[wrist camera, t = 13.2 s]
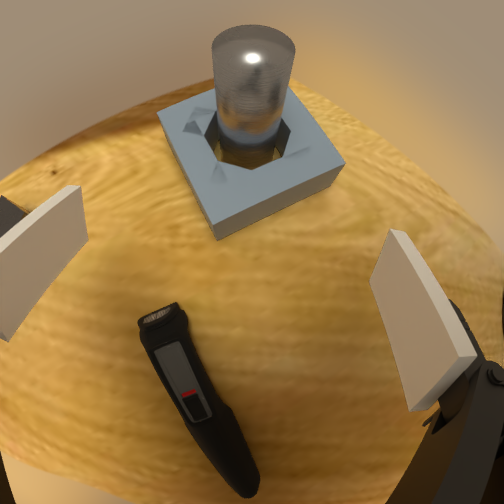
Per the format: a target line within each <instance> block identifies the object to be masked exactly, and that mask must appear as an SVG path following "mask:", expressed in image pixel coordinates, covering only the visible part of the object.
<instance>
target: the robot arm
mask: <svg viewBox="0 0 504 504" xmlns="http://www.w3.org/2000/svg"><path fill="white" fill-rule="evenodd" d="M87 241H88V235H87V228H86V222H85V215H84V208H83V200H82V191H81V186H74V185H67V186H66V187H64V188H63V189H62V190H60V191H59V192H57V193H56V194H55V195H53V196H52V197H51V198H49V199H48V200H47V201H45V202H44V203H43V204H41V205H40V206H39V207H37V208H36V209H35V210H33V211H32V212H31V213H30V214H28V215H27V216H26V217H25V218H23V219H22V220H21V221H20V222H19V223H17V224H16V225H15V226H14V227H13V228H11V229H10V230H9V231H8V232H7V233H6V234H4V235H3V236H2V237H1V238H0V338H1V339H3V340H5V341H7V342H9V341H10V339H11V338H12V336H13V335H14V333H15V332H16V330H17V329H18V327H19V326H20V325H21V323H22V322H23V320H24V319H25V318H26V316H27V315H28V313H29V312H30V311H31V309H32V308H33V307H34V305H35V304H36V303H37V301H38V300H39V299H40V297H41V296H42V295H43V294H44V292H45V291H46V290H47V288H48V287H49V286H50V285H51V283H52V282H53V281H54V280H55V279H56V277H57V276H58V275H59V274H60V272H61V271H62V270H63V269H64V268H65V266H66V265H67V264H68V263H69V262H70V261H71V259H72V258H73V257H74V256H75V255H76V254H77V253H78V251H79V250H80V249H81V248H82V247H83V246H84V245H85V244H86V242H87ZM369 283H370V286H371V289H372V292H373V294H374V297H375V300H376V303H377V306H378V308H379V311H380V314H381V317H382V320H383V323H384V326H385V329H386V332H387V335H388V339H389V342H390V345H391V348H392V351H393V355H394V358H395V361H396V365H397V368H398V372H399V375H400V379H401V383H402V386H403V390H404V394H405V398H406V402H407V406H408V410H409V412H411V411H421V410H428V409H429V408H430V407H431V406H432V405H433V404H434V403H435V402H436V401H437V400H438V401H439V404H440V408H439V409H438V410H437V411H436V412H435V413H434V414H433V415H432V416H430V417H429V418H428V419H427V420H426V421H425V422H424V423H423V425H422V426H424V427H425V426H426V425H427V424H428V423H429V422H431V423H430V425H429V427H428V430H427V432H426V434H425V436H424V438H423V440H422V442H421V444H420V446H419V448H418V450H417V452H416V454H415V455H414V457H413V459H412V461H411V463H410V464H409V466H408V468H407V470H406V471H405V473H404V475H403V477H402V478H401V480H400V482H399V483H398V485H397V486H396V488H395V490H394V491H393V493H392V494H391V496H390V497H389V499H388V500H387V502H386V503H385V504H504V369H503V368H502V367H501V366H500V365H499V364H498V363H496V362H493V361H486V359H485V357H484V355H483V353H482V351H481V349H480V347H479V345H478V343H477V341H476V339H475V337H474V335H473V333H472V331H470V328H469V326H468V324H467V322H465V318H464V316H463V315H462V313H461V311H460V309H459V308H458V307H457V306H456V305H455V304H454V303H453V302H452V301H451V300H450V299H448V298H447V296H446V295H445V293H444V291H443V290H442V288H441V286H440V285H439V283H438V281H437V280H436V278H435V276H434V275H433V273H432V272H431V270H430V268H429V267H428V265H427V264H426V262H425V261H424V259H423V257H422V256H421V254H420V253H419V251H418V250H417V248H416V247H415V245H414V244H413V242H412V241H411V240H410V238H409V237H408V235H407V234H406V232H404V231H399V230H394V229H389V232H388V235H387V237H386V240H385V243H384V245H383V248H382V250H381V253H380V255H379V258H378V260H377V263H376V265H375V268H374V270H373V273H372V275H371V277H370V280H369ZM503 322H504V306H503ZM0 504H16V503H15V500H14V497H13V494H12V491H11V488H10V485H9V482H8V478H7V475H6V471H5V468H4V464H3V460H2V456H1V452H0Z"/></svg>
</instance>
